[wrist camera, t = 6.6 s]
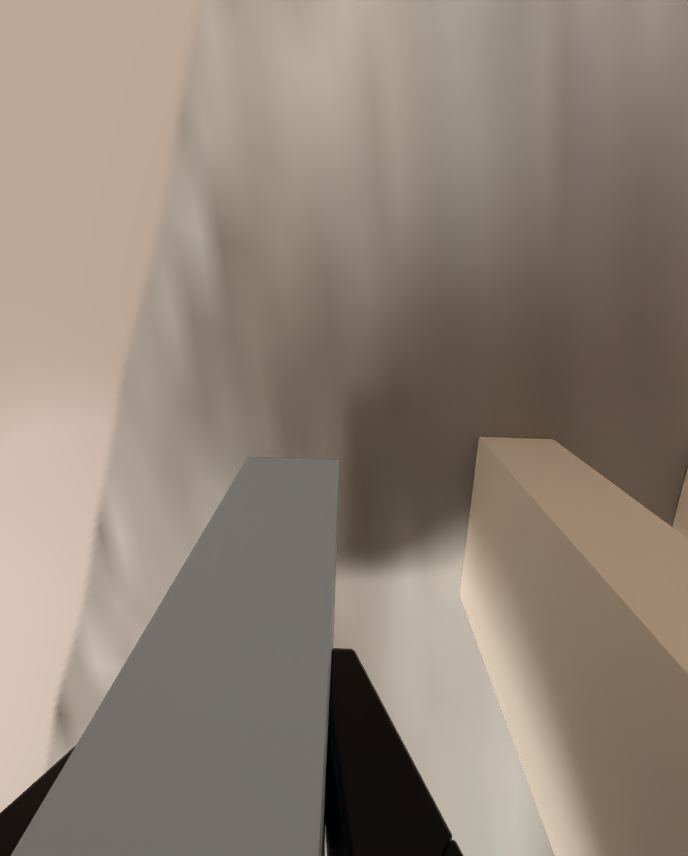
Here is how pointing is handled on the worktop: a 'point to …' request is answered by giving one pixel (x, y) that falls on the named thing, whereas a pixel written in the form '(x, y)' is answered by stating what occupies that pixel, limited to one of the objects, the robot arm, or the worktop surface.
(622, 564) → the ivory domino
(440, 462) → the worktop surface
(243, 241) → the worktop surface
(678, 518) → the ivory domino
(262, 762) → the domino
